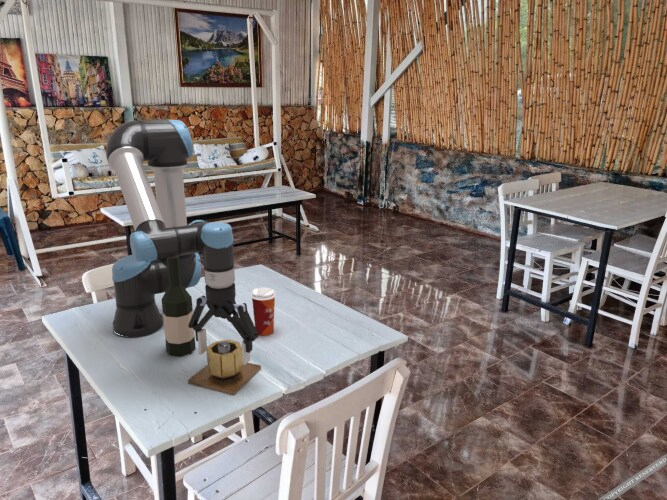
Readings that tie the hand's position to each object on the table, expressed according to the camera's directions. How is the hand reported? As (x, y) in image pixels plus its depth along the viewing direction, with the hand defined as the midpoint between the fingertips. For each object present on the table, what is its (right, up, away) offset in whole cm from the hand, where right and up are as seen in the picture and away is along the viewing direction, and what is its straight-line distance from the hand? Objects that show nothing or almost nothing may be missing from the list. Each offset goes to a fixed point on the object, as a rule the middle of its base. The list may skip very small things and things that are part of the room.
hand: (224, 357), depth 141 cm
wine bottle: (-16, -1, +15) cm, 22 cm away
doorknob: (0, -5, +2) cm, 6 cm away
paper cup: (+7, +2, +27) cm, 28 cm away
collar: (0, -3, +1) cm, 3 cm away
